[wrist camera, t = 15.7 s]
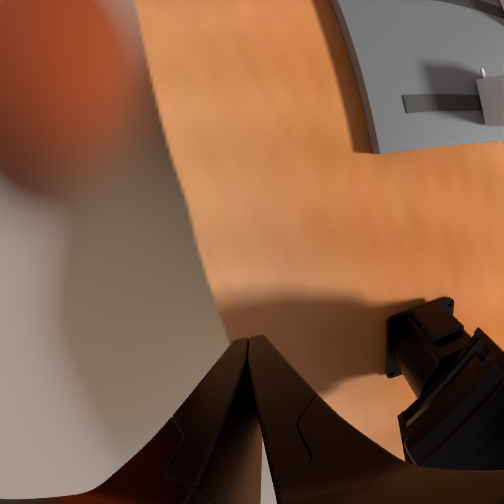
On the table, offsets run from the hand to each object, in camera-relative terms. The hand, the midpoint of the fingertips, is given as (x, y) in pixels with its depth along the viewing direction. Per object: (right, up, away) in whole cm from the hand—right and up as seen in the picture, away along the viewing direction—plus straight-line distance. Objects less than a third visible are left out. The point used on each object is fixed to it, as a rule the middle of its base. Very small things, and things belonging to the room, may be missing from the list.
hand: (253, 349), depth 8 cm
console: (+17, +18, +7) cm, 26 cm away
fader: (+18, +14, +7) cm, 24 cm away
